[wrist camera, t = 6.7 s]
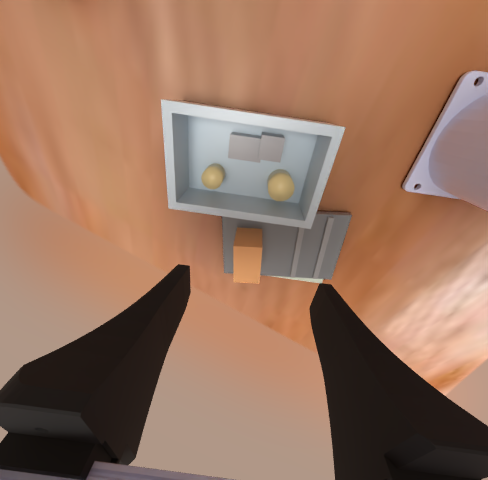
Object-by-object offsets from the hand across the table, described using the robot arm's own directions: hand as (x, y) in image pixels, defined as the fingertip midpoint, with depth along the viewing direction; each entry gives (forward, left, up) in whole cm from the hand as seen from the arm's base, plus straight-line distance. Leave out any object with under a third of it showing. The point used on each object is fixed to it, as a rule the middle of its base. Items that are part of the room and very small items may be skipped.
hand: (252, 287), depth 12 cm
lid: (-3, +3, -10) cm, 11 cm away
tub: (+1, -5, -10) cm, 11 cm away
